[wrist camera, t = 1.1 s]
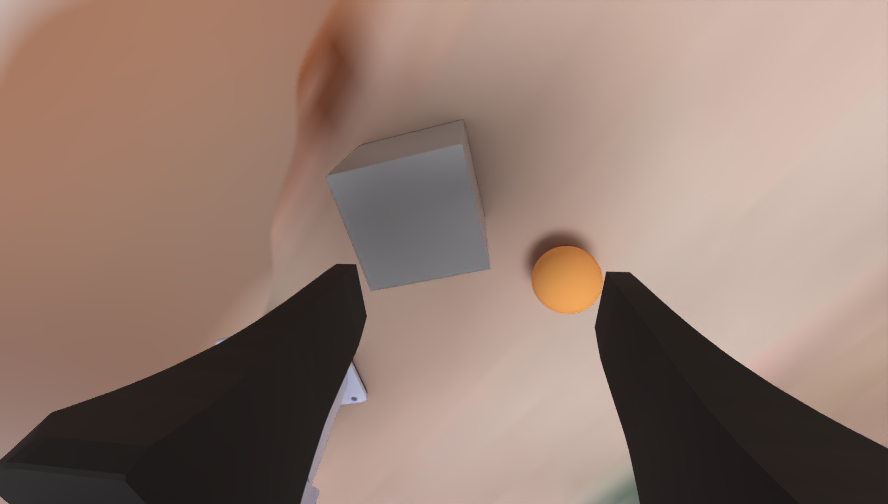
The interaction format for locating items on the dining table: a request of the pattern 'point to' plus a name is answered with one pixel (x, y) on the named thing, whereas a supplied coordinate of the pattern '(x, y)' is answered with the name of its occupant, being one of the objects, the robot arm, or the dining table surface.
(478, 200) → the grey cube
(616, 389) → the robot arm
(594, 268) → the ball
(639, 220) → the dining table surface
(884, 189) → the dining table surface
